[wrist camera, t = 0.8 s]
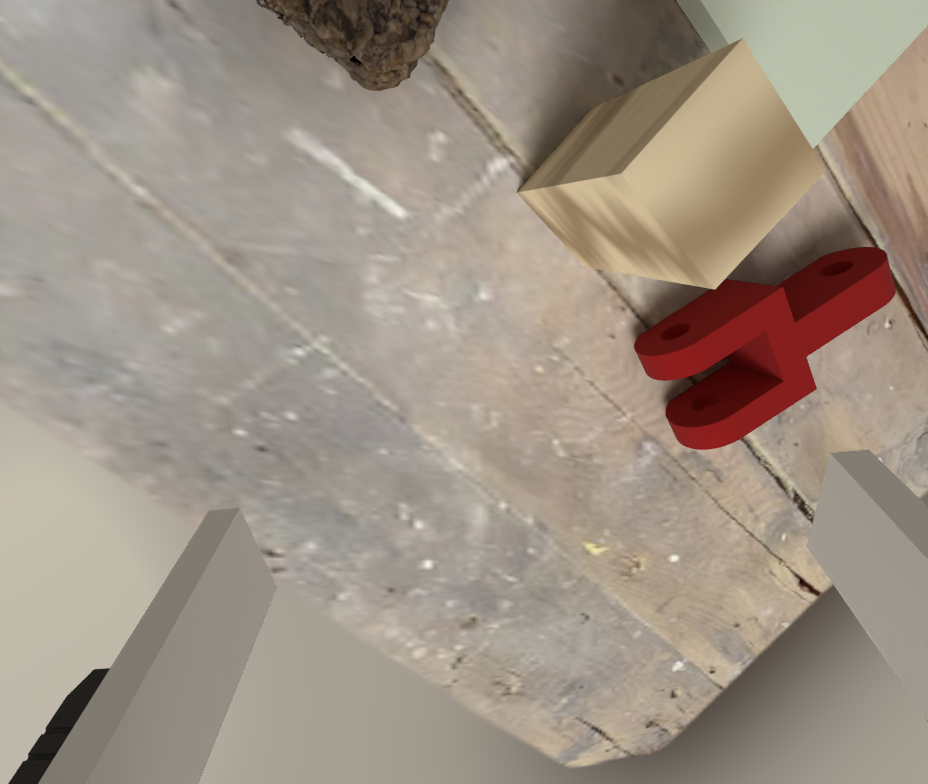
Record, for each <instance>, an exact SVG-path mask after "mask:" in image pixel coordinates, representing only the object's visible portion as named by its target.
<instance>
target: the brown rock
mask: <svg viewBox="0 0 928 784" xmlns="http://www.w3.org/2000/svg"><path fill="white" fill-rule="evenodd" d="M448 1H449V0H257V4H259V5H260V6H261V7H264V8H266V9H268V10H270V11H272V12H274V13H276V14H277V16H279V17H278V19H281V20H282V21H283V22H284V24H285V25H287V26H289V25H292V27H293V29H294V30H295V31H296V32H297V33H298V34H299V36H300V37H301V38H302V37H304V39H305V40H306V42H307V43H308V44H309V45H310V46H312V47H314V48H316V49H317V50H318V51H320V52H321V53H326V55H327V56H328V57H331V58H334V59H335V61H336V62H338V63H339V64H340V65H341V66H342V67H343V68H345V69H346V70H347V71H348V72H349V74H350V76H351V78H352V79H353V80H356V81H357V82H358V83H359V84H360V85H361V86H362V87H363V88H365V89H368V90H374V91H381V90H385V89H388V88H394V87H396V86H398V85H399V84H400V82H401V81H403V80H405V79H408V78H410V73H411V72H412V71H413V69H414V68H415V67H416V66H417V62H418V59H419V58H421V57H422V56H424V55H425V54H426V53H427V51H428V50H429V49H430V47H429V45H431V44H432V43H433V42H434V36H435V29H436V27H437V25H438V23H439V21H440V18H441V15H442V13H443V12H444V11H445V8H446V6H447V4H448Z"/></svg>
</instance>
